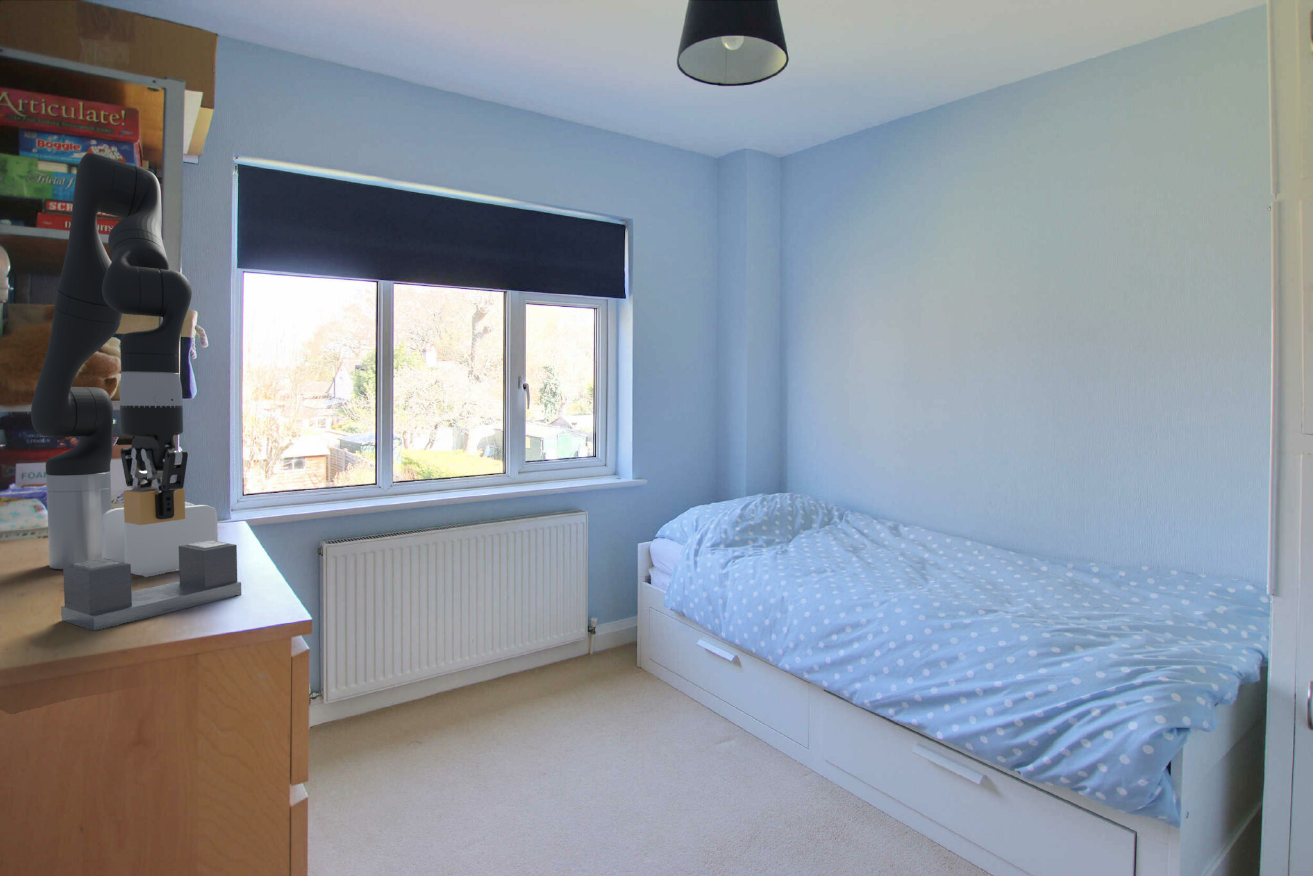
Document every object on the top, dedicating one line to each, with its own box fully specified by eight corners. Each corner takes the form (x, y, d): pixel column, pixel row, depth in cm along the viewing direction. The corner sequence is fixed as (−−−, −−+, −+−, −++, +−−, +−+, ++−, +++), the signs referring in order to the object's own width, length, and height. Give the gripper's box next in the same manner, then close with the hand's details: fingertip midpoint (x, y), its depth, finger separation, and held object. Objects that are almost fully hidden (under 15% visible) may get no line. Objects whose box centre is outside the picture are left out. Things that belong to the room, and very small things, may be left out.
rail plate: (61, 620, 97) (59, 563, 96) (208, 586, 115) (207, 538, 114) (94, 631, 93) (92, 571, 92) (241, 594, 111) (240, 544, 110)
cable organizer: (122, 582, 117) (120, 514, 117) (101, 572, 123) (99, 508, 123) (219, 565, 130) (217, 504, 129) (195, 557, 136) (193, 499, 135)
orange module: (168, 516, 107) (167, 484, 106) (185, 518, 105) (184, 486, 104) (124, 522, 101) (123, 488, 101) (141, 525, 99) (139, 490, 99)
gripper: (206, 403, 102) (209, 517, 103) (153, 402, 109) (156, 509, 110) (150, 403, 95) (154, 525, 96) (97, 402, 102) (101, 516, 103)
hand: (155, 516), depth 103 cm, fingers closed on orange module, 4 cm apart
